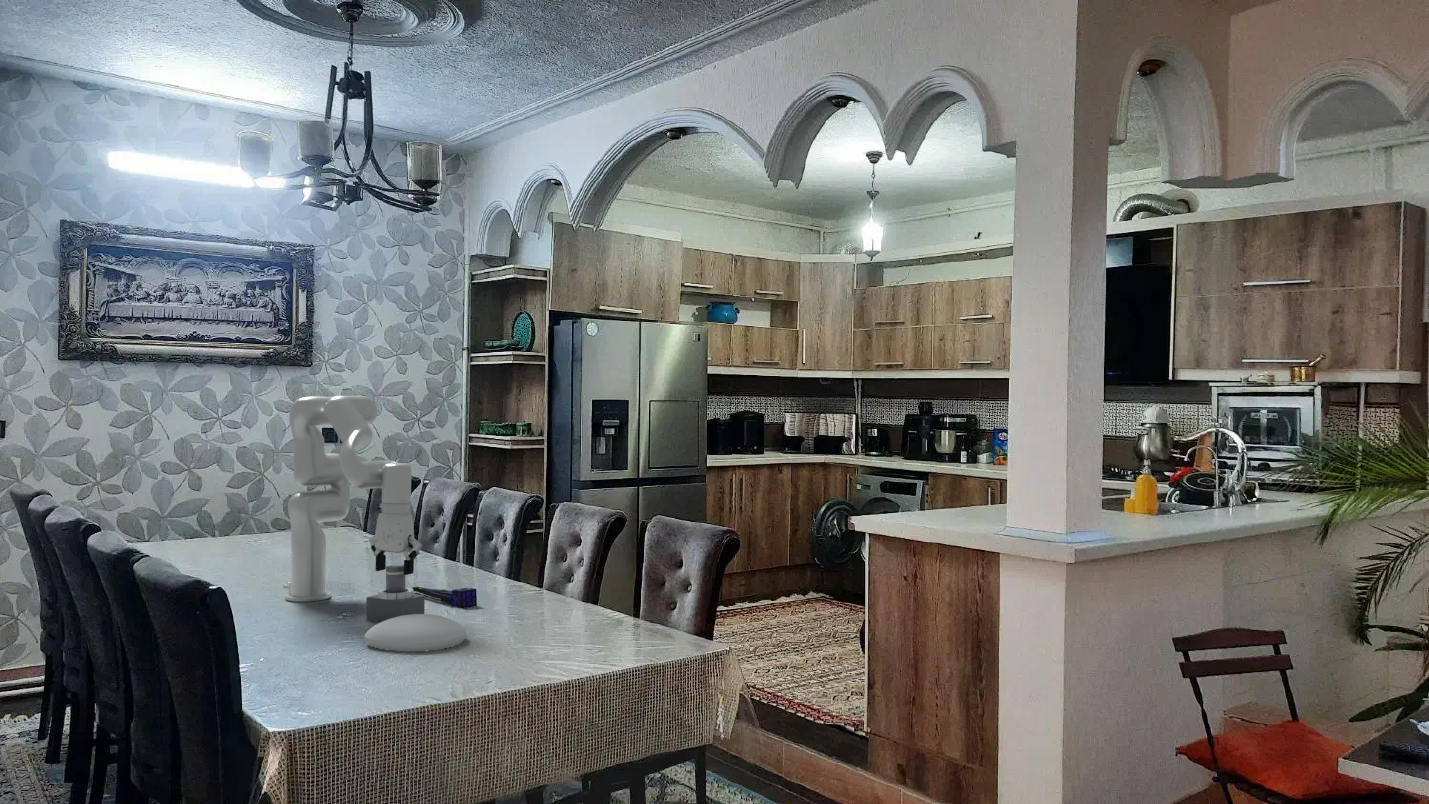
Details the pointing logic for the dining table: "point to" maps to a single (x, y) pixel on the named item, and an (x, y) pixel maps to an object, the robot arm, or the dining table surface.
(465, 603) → the toy
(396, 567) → the lens
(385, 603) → the camera body
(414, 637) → the decorative item
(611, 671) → the dining table surface
